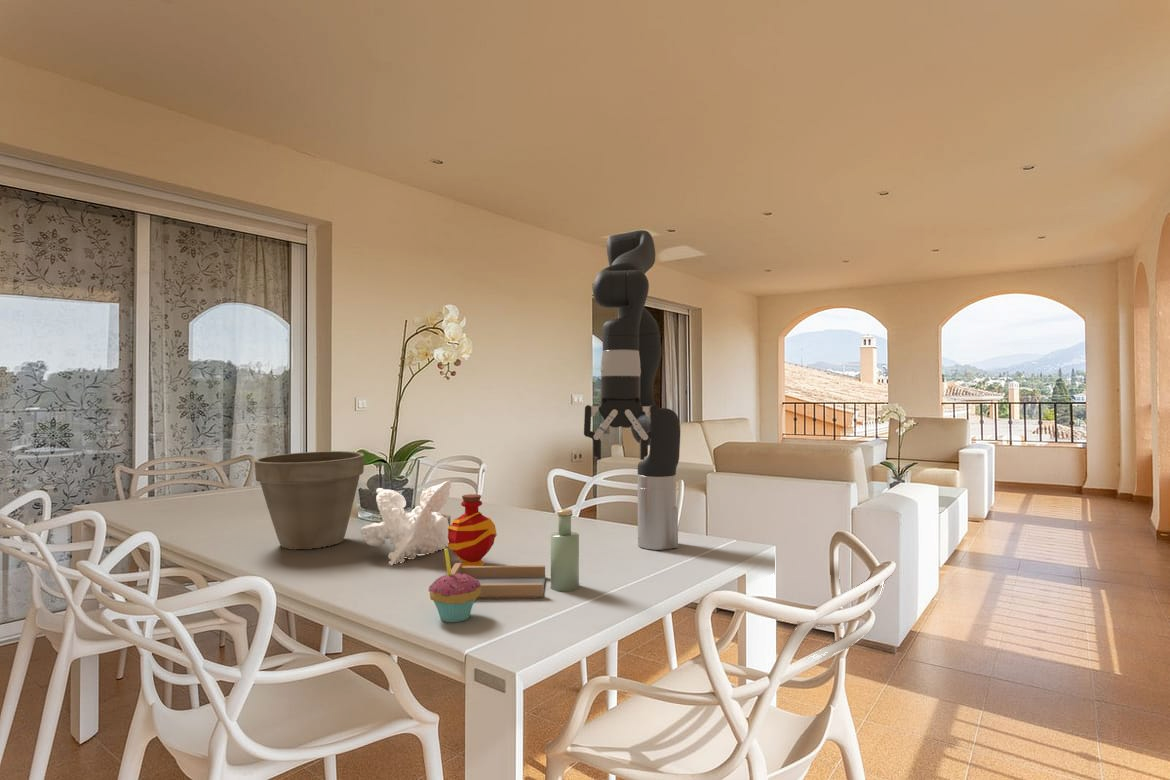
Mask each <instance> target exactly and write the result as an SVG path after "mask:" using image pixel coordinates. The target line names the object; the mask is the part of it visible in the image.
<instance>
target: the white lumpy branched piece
mask: <svg viewBox="0 0 1170 780" xmlns="http://www.w3.org/2000/svg"><path fill="white" fill-rule="evenodd" d="M451 488H452V481H451V480H447V481H443V482H442V483H439V484H436V485H433V486H430V487H427V489H426V490H423V491H422V492H421V495H420V497H419V504H420V505H417V506H415V508H414V509H412V510H411V512H410V511H408V512H405V509H404V508H405V507H406V505H407V501H406V499H405V497H404V496H403V495H402V494H401V493H399V492H398V491H396V490H392V489H388V488H387V489H385V488H382V487H378V488H376V489H375V492H376V494H377V495H376V497H375V500H376V501H375V502H376V504H377V509H378V510H379V514H380V515H381V517H382V520H383V521H384V522H381V523H380V522H373V523H371V524H366V525H364V526H362V527H361V528H360V529H359V530H360V533H361V537H362V538H363V542H365V543H366V544H367V545H368V546H371V547H382V546H384V545H385V544H386V540H389V544H390V545H391V546H392V548H393V551H391V552H389V553H388V559H389V561H388V563H389V564H395V563H397V562H403V561H405V562H406V559H408V558H414V559H416V558H417V556H416V555H417V554H427V553H433V554H435V553H436V552H439V551H438V550H441V551H443V550H442V549H445V545H444V544H446V547H448V543H449V540H448V527H449V524H448V520H447V519H446V518H445V517H444V516H440V515H441V514H442V513H441V511H442V509H443V508H444V507H445V505H446V504H447V501H448V498H449V496H450V492H451V491H450V489H451ZM435 551H436V552H435ZM427 555H428V554H427ZM404 557H407V558H405V559H404ZM403 563H404V562H403ZM389 564H388V565H389ZM397 564H398V563H397Z"/></svg>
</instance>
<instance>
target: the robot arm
mask: <svg viewBox="0 0 1170 780" xmlns="http://www.w3.org/2000/svg"><path fill="white" fill-rule="evenodd" d="M606 255H607V260H608V265H609V266H607V267H605V268H602V270H600V271H599V272H598V273H597V275H596V276H595V279H594V281H593V284H592V285H593V286H592V294H593V298H594V300H595V302H596V303H597V304H598V305H599V306H601V307H603V308H608V309H610V308H611V309H614V308H617V314H618V318H613V319H610V320H607V321H605V322H604V323H603V326H602V352H601V353H602V355H601V360H600V361H601V365H600V378H601V379H600V404H599V406H597V405H589V404H586V405H585V407H584V416H583V417H584V419H583V420H584V421H583V435H584V436H585V437H586V438H587V437H588V438H589V439H592V440H593V443H592V444H593V446H592V449H593V451H592V453H593V456H594V458H596V461H601V460H602V440H601V437H602V436H603V434H604V433H605V432H606V431H607V429H608V427H611V428H619V427H620V428H621V427H622V428H630V430H631V434H632V437H633V438H634V439H635V441H636V442H637V443H639V460H641V461H640V462H638V464H637V545H638V547H639V548H643V549H647V550H653V551H654V550H656V551H657V550H658V551H659V550H660V551H661V550H670V549H678V548H679V508H678V507H677V467H678V464H679V461H680V451H681V450H680V448H681V422H680V419H679V416H678V415H677V413H676V412H675V411H674V410H673V409H670V408H667V407H666V408H665V407H657V406H656V403H655V396H654V381H655V377H656V374H657V371H658V369H659V366H660V363H661V362H660V361H661V358H662V353H663V352H662V350H663V349H662V343H661V342H662V341H661V335H660V329H659V327H660V326H659V324H658V321H657V320H656V319H655V318H654V316H653V315H652V314H651V312H650V311H649V310H648V309H647V308H646V307H645V305H646V301H647V299H648V294H649V291H650V290H649V288H650V283H649V279H648V277H647V275H646V273H647V272H648V271H649V270H650V269H652V268H653V266H654V264H655V262H656V249H655V242H654V239H653V236H652V234H651V233H650V232H649V231H648V230H644V229H643V230H641V229H639V230H635V231H634V230H633V231H628V232H624V233H618V234H617V233H616V234H613V235H610V236H608V238H607V241H606ZM597 412H598V413H599V415H600V416H601V417H602V418H603V420H602V422H601V423H600V425H599V426H598V428H597V429H596V431H592V430H591V429H592V428H591V424H592V418H594V417H595V416H596V413H597ZM648 450H649V451H648Z"/></svg>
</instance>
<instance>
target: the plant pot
mask: <svg viewBox="0 0 1170 780" xmlns="http://www.w3.org/2000/svg"><path fill="white" fill-rule="evenodd" d="M253 463H254V471H255V472H254V475H255V480H256V481H257V482H259V483H260V488H261V490H262V493H263V497H264V500H265V503H266V506H267V509H268V513H269V515H270V518H271V522H272V526H273V529H274V531H275V534H276V537H277V540H278V542H279V544H280V547H282V548H283V547H285V548H284V549H286V548H291V549H290V550H296V549H306V550H311V549H310V548H316V549H322V548H321V547H323V548H327V547H326V546H328V547H331V545H332V546H335V545H338V544H340V543H342V542H343V541H344V539H345V537H346V533H347V529H348V524H349V521H350V517H351V513H352V510H353V504H354V501H355V497H356V493H357V488H358V486H359V480H360V476H361V475H363V473H364V471H365V469H364V468H365V466H364V465H365V464H364V463H365V454H364V453H362V452H359V451H357V452H356V451H347V450H346V451H345V450H342V451H341V450H337V451H336V450H329V451H328V450H327V451H326V450H325V451H324V450H323V451H307V452H306V451H305V452H293V453H292V452H291V453H282V454H275V455H266V456H263V457H259V458H255V460H254V462H253ZM334 544H335V545H334Z"/></svg>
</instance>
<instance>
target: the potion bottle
mask: <svg viewBox="0 0 1170 780" xmlns="http://www.w3.org/2000/svg"><path fill="white" fill-rule="evenodd" d="M461 497H462V502H461V503H460V504H461V505H460V506H461V507H464V513H463V514H461V515H460V516H459V517H457V518H454V519H453V520H452V522H451V523H450V526H449V527H448V544H447V548H448V550H450V551H451V550H452V551H453V553H454V555H455V556H456V557H457V559H460V560H461V562H460V563H461V566H483V565H484V566H485V563H484V562H483V561H482V559H483V558H484V557H485V556H486V555H487V554H488V553H489V551H491V549H492V547H493V546H494V543H495V538H496V537H497V535H498V534H497V529H496V525H495V523H494V522H493V520H492V519H491V517H487V516H485V515H483V513H482V512H480V511H479V507H480V506H482V504H483V501H482V500H481V499H482V495H481V494H478V493H477V494H476V493H474V494H473V493H469V494H463V495H462V496H461Z"/></svg>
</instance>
